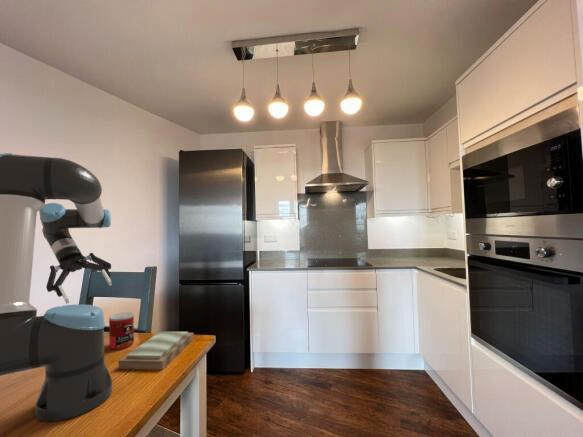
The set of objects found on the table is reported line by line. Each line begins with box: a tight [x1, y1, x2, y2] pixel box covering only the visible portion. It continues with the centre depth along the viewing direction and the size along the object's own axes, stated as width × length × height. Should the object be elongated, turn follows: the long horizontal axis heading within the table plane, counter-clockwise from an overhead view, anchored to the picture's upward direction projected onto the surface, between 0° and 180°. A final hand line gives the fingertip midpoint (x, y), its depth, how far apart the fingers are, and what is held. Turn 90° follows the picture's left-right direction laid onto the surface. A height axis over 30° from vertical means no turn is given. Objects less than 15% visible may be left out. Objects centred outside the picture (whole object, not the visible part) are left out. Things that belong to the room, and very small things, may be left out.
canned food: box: [108, 311, 135, 351], centre depth 101 cm, size 8×8×11 cm
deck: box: [118, 331, 195, 371], centre depth 94 cm, size 22×14×4 cm, turn 176°
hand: (90, 292), depth 100 cm, fingers open, 13 cm apart
